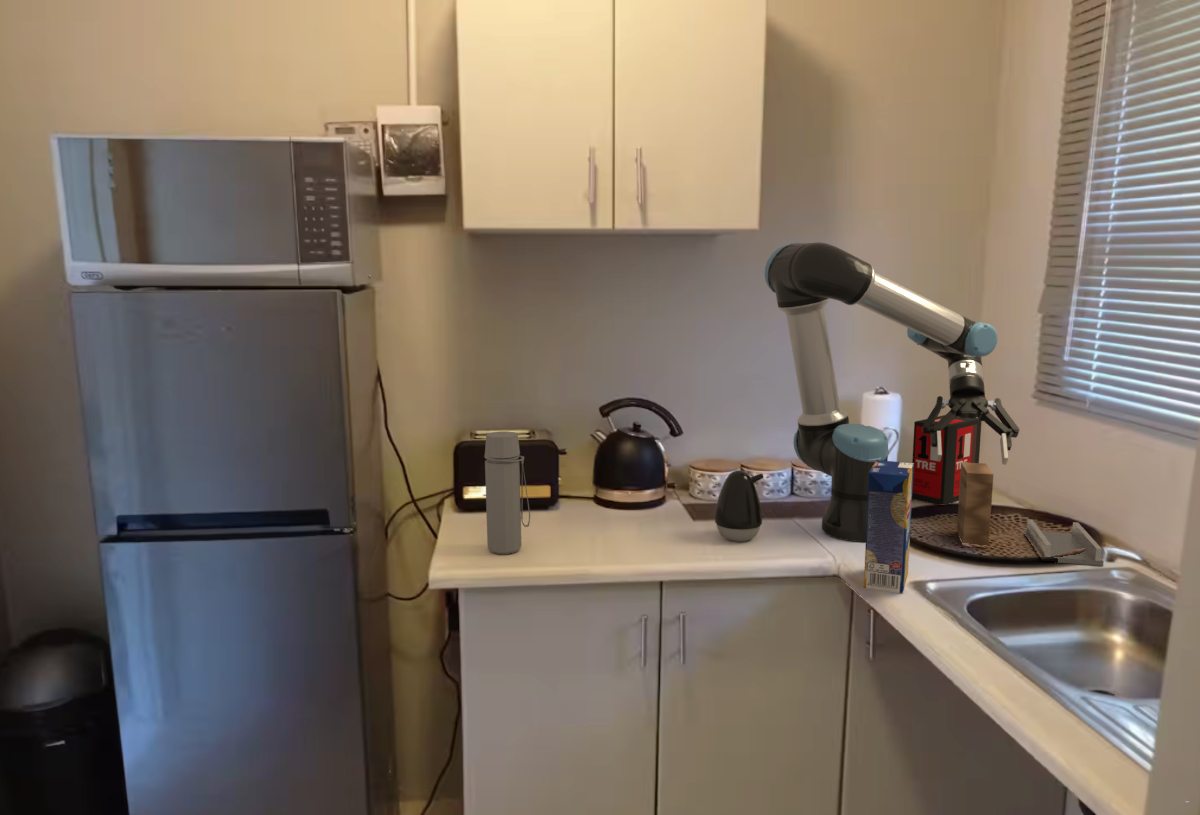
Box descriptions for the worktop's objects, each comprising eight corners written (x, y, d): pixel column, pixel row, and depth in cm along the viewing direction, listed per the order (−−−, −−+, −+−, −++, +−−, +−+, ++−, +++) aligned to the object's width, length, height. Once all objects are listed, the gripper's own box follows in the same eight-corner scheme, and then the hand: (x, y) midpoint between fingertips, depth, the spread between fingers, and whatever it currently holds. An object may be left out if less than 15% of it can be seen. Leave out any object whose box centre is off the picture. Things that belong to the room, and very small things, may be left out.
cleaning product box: (944, 487, 228) (948, 414, 225) (976, 494, 222) (981, 418, 218) (910, 498, 218) (914, 421, 215) (943, 506, 211) (947, 426, 208)
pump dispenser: (767, 544, 183) (769, 475, 181) (719, 546, 183) (720, 476, 180) (756, 530, 193) (758, 464, 191) (710, 531, 193) (711, 465, 190)
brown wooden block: (962, 546, 181) (966, 472, 178) (956, 532, 191) (960, 462, 188) (988, 548, 180) (994, 474, 177) (981, 534, 189) (986, 463, 187)
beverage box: (907, 573, 165) (913, 462, 162) (902, 593, 155) (908, 475, 152) (871, 569, 168) (876, 459, 164) (863, 588, 158) (868, 472, 155)
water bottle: (488, 557, 177) (484, 438, 172) (486, 545, 184) (482, 431, 180) (532, 554, 178) (530, 436, 174) (528, 542, 186) (526, 429, 182)
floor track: (1041, 561, 172) (1043, 544, 171) (1023, 534, 189) (1025, 519, 188) (1103, 566, 169) (1104, 549, 168) (1079, 538, 186) (1080, 522, 185)
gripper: (912, 372, 202) (914, 447, 190) (1027, 375, 196) (1037, 453, 184) (909, 391, 208) (910, 465, 196) (1021, 394, 202) (1030, 471, 190)
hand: (972, 459), depth 190 cm, fingers open, 13 cm apart
